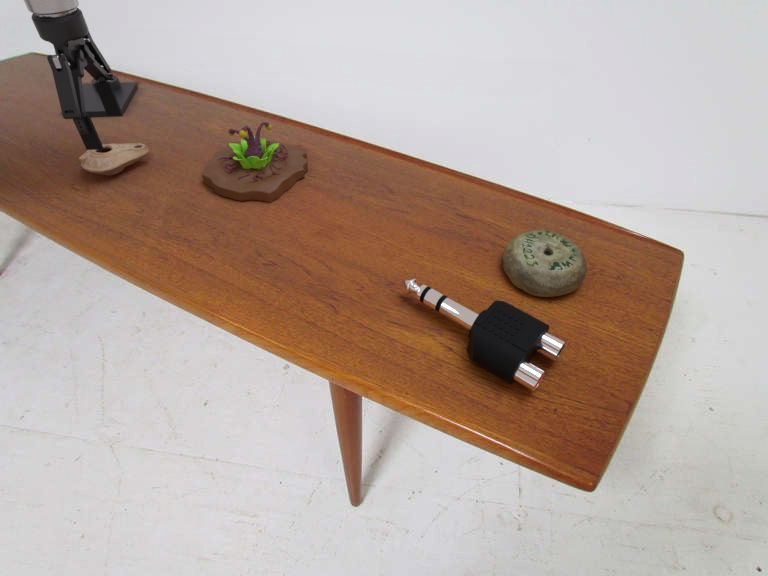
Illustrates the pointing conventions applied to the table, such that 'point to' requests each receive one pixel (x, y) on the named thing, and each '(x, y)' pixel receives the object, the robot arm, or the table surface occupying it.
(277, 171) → the plant
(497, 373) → the audio adapter
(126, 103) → the scale
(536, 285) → the weight
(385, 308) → the table surface
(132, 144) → the pottery oil lamp
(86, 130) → the robot arm
